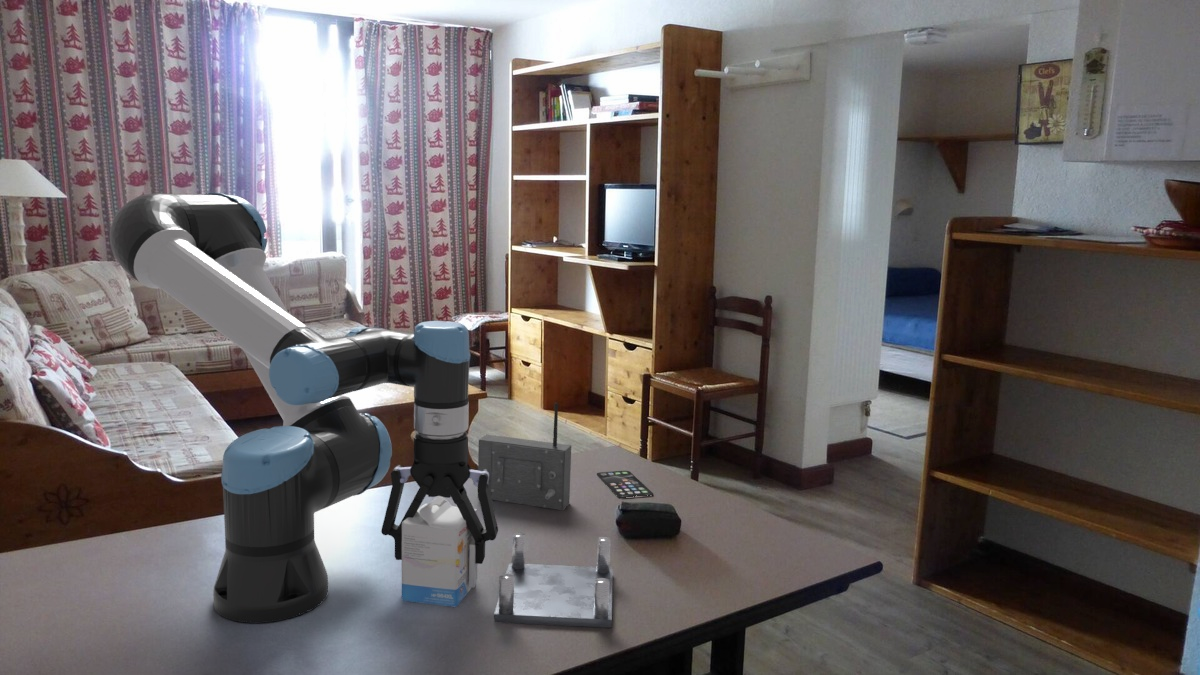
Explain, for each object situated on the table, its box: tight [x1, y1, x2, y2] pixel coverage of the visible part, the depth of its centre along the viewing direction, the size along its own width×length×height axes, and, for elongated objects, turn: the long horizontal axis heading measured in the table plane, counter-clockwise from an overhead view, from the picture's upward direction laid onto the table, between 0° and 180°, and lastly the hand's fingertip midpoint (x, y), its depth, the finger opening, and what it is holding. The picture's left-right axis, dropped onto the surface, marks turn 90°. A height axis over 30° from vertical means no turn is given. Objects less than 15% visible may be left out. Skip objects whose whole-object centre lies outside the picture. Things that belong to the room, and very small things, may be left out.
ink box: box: [401, 496, 478, 608], centre depth 124 cm, size 9×8×13 cm
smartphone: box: [596, 470, 654, 499], centre depth 173 cm, size 7×1×15 cm
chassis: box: [493, 532, 614, 629], centre depth 125 cm, size 16×16×6 cm
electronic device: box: [477, 402, 572, 511], centre depth 159 cm, size 17×7×20 cm, turn 74°
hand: (439, 581), depth 125 cm, fingers closed on ink box, 9 cm apart
